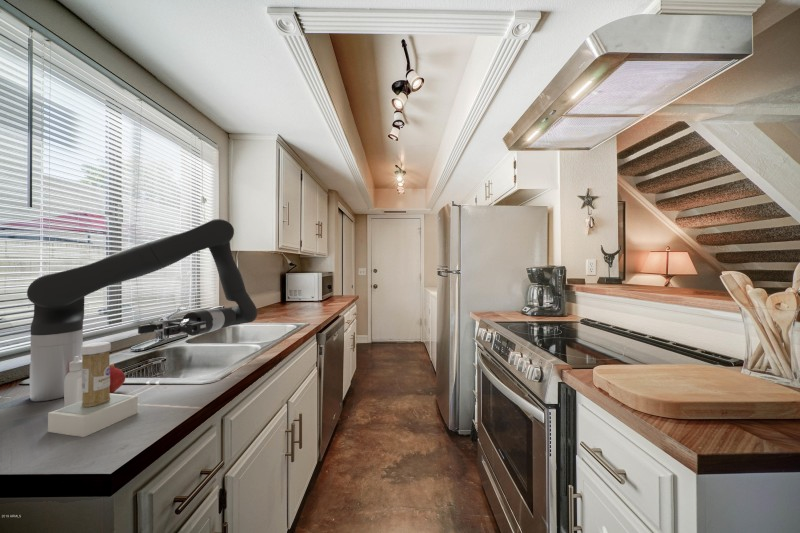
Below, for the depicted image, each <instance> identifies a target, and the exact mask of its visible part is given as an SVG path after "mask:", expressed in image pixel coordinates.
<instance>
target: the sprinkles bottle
mask: <svg viewBox="0 0 800 533" xmlns="http://www.w3.org/2000/svg"><path fill="white" fill-rule="evenodd" d="M111 347H112V346H111V342H110V341H96V342H89V343H85V344H83V346H82V347H81V354H82V392H83V402H82V406H83V407H92V406H97V405H100V404H103V403H105V402H107V401H109V400H110V365H111V364H110V363H111V362H110V351H111V350H112V349H111Z"/></svg>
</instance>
